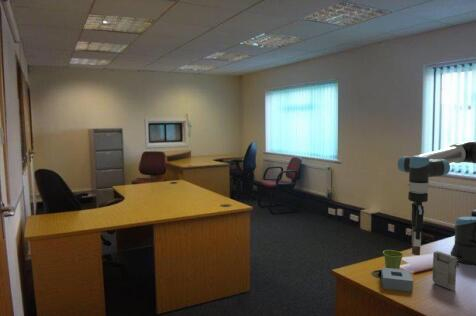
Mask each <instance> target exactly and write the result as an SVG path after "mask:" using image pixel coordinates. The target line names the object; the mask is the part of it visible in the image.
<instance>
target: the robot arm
mask: <svg viewBox="0 0 476 316" xmlns="http://www.w3.org/2000/svg"><path fill="white" fill-rule="evenodd" d="M452 163H455V164H460V163H472V164H476V139H475V140H474V139H473V140H467V141H462V142H459V143H454V144H451V145H449V147H447V148H442V149H439V150H435V151H429V152H426V153H422V154H421V153H420V154H418V155H412V156H408V155H406V156H405V155H403V156H401V157H399V158H398V160H397V169H398V170H399V171H400V172H403V173H406V174H407V173H408V176H409V177H408V183H407V184H406V185H407V186H408V196H407V197H408V200H409V201H410V202H413V203H411V223H410V224H411V228H412V229H411V237H412V236H413V232H414V244H413V246H419V247H420V248H421V243H422V232H423V226H424V213H425V210H424V205H423V203H426V202H428V201H429V200H428V199H429V180H430V179H429V178H435V177H438V178H439V177H443V176H446V175H448V174H449V173H450V171H451V165H450V164H452ZM413 226H415V230H413ZM454 226H455V227H454V244H453V246H452V248H451V251H450V254H451V255H452V256H455V257H457V260H458V262H457V263H460V264H463V265H464V264H465V265H469V266H470V265H471V266H476V216H460V217H457V218H456V220H455V224H454ZM450 254H449V255H450Z"/></svg>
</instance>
